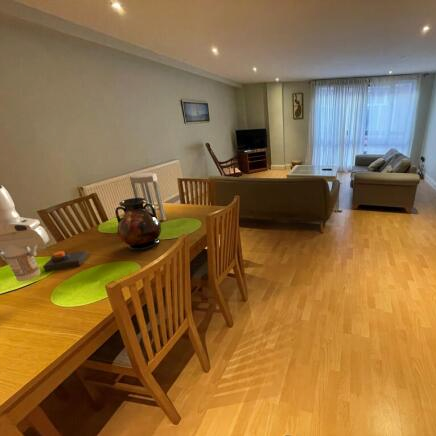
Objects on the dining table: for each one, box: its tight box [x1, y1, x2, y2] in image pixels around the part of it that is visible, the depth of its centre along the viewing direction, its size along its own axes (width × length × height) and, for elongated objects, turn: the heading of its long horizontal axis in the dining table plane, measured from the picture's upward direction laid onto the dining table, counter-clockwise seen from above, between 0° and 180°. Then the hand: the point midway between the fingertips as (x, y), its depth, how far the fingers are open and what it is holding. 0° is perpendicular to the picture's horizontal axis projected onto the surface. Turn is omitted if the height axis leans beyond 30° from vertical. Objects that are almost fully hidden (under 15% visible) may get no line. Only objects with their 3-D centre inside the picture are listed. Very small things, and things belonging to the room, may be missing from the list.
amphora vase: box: [114, 197, 162, 252], centre depth 138 cm, size 22×22×28 cm
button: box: [53, 250, 65, 258], centre depth 122 cm, size 4×4×2 cm
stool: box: [129, 172, 167, 221], centre depth 169 cm, size 16×16×35 cm
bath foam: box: [3, 245, 42, 282], centre depth 95 cm, size 7×7×20 cm
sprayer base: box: [43, 250, 89, 272], centre depth 124 cm, size 14×11×5 cm
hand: (20, 257), depth 96 cm, fingers closed on bath foam, 7 cm apart
